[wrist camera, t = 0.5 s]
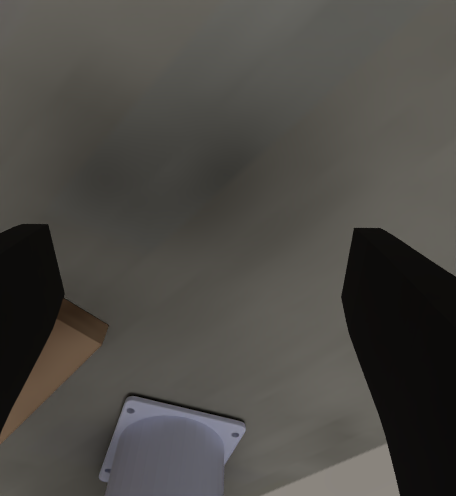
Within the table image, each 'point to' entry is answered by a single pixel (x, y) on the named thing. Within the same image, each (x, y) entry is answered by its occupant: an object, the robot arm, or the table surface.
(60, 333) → the walnut board
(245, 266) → the table surface
